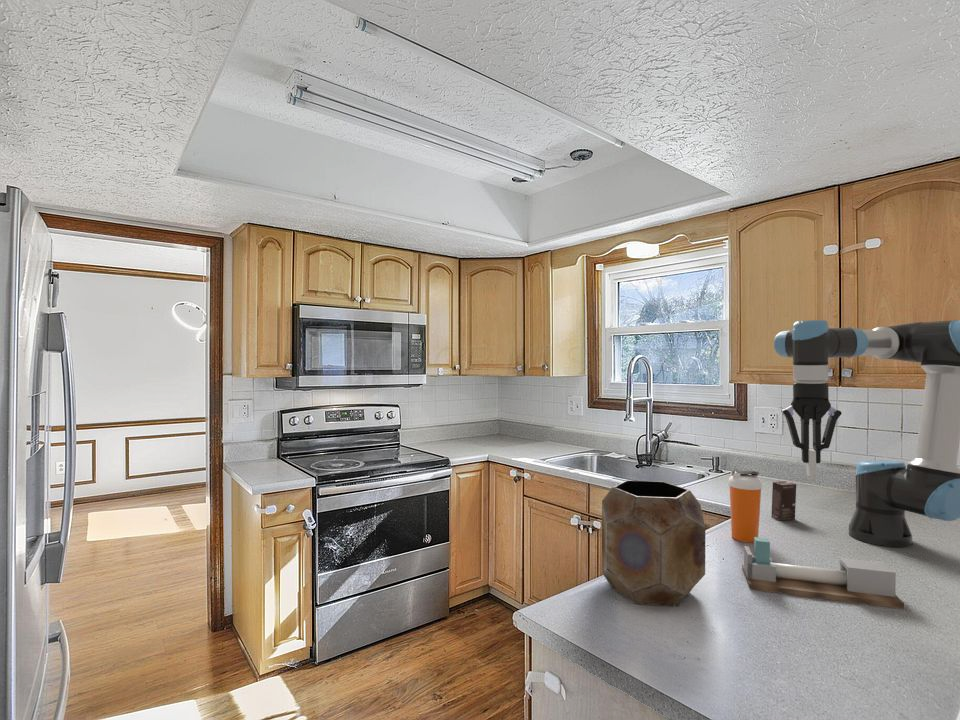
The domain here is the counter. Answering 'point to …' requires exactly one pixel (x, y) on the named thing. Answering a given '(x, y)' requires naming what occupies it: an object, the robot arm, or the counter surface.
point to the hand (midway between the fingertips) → (811, 475)
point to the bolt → (797, 567)
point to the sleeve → (869, 577)
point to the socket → (758, 568)
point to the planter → (652, 542)
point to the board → (822, 591)
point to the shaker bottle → (745, 505)
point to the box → (783, 500)
